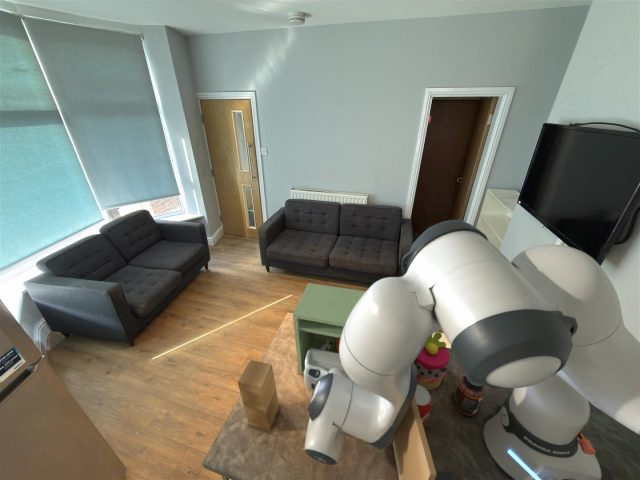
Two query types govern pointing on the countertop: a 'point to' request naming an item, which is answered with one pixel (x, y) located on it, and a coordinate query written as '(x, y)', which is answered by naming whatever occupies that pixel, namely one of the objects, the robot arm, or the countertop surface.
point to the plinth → (259, 394)
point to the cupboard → (321, 317)
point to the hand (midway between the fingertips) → (345, 344)
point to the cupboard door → (415, 450)
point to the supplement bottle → (468, 395)
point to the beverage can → (423, 403)
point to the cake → (432, 362)
